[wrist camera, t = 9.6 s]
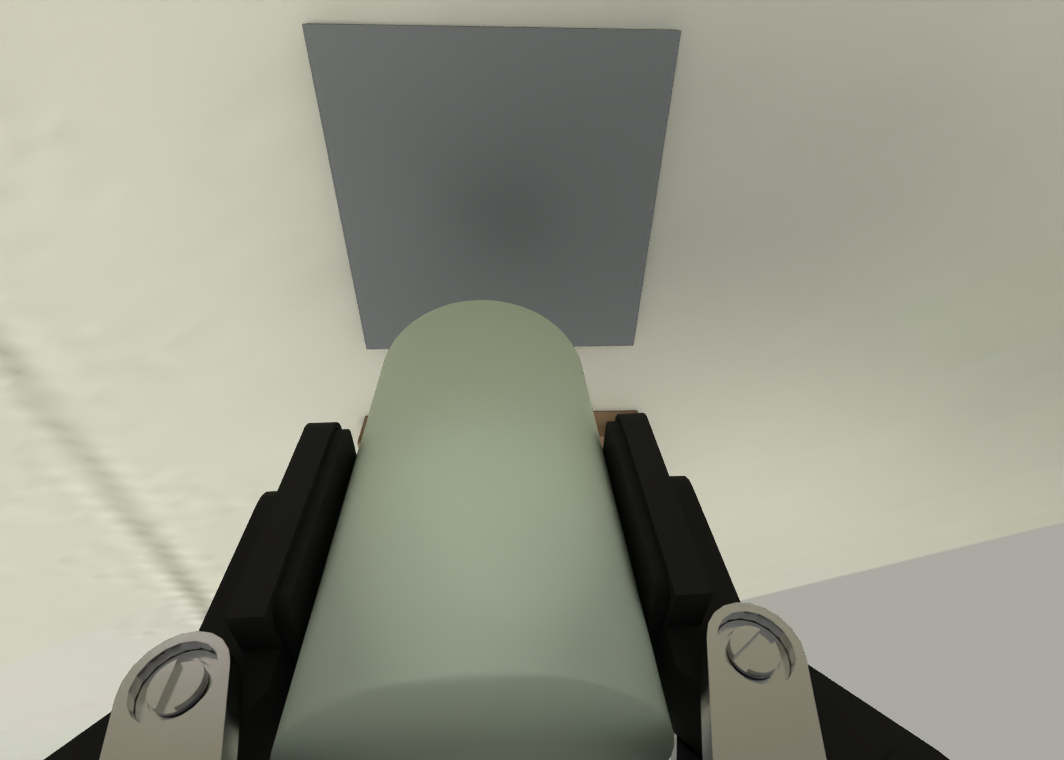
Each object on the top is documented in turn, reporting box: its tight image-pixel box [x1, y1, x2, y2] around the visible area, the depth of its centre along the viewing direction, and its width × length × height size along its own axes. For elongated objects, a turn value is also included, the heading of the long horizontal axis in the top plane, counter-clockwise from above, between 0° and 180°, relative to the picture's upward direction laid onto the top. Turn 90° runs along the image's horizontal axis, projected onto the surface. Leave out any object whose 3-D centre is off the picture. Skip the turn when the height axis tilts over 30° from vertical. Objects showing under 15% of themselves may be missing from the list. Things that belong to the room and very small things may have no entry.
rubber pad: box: [302, 24, 681, 349], centre depth 24 cm, size 14×14×1 cm
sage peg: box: [270, 300, 674, 760], centre depth 10 cm, size 5×5×8 cm
